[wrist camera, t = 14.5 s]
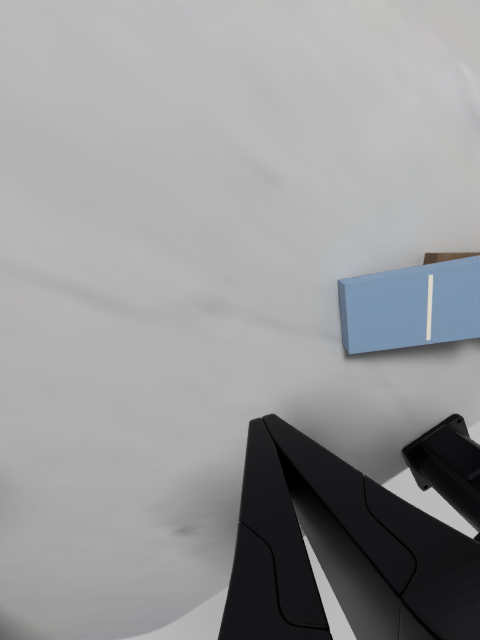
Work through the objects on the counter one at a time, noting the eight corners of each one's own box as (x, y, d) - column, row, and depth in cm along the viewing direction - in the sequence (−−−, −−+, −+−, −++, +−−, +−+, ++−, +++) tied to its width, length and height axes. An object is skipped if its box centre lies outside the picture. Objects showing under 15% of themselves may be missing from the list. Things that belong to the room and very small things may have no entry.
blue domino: (337, 279, 17) (501, 251, 16) (342, 344, 19) (491, 324, 17) (344, 284, 16) (527, 253, 14) (349, 354, 17) (514, 333, 16)
